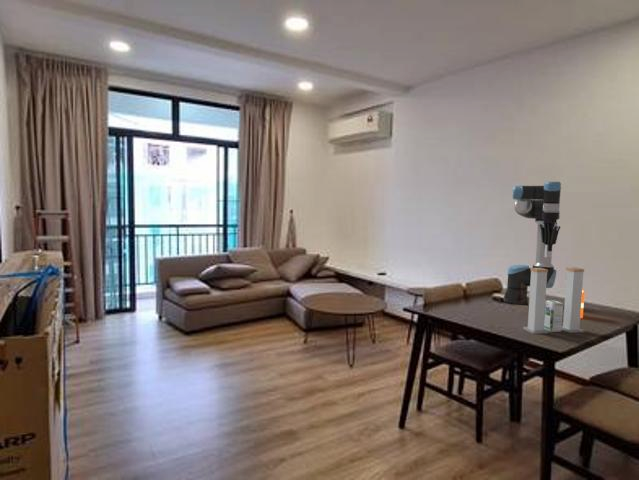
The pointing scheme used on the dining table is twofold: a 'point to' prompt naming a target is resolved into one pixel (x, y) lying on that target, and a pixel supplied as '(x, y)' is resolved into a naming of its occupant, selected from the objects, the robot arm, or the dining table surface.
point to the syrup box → (553, 316)
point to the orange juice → (582, 304)
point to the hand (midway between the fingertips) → (547, 257)
